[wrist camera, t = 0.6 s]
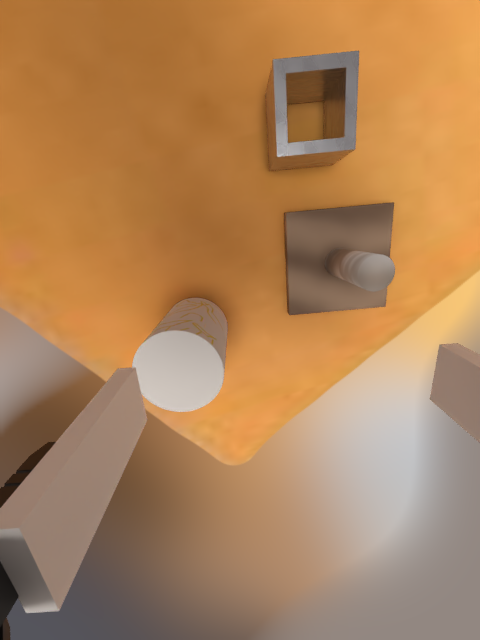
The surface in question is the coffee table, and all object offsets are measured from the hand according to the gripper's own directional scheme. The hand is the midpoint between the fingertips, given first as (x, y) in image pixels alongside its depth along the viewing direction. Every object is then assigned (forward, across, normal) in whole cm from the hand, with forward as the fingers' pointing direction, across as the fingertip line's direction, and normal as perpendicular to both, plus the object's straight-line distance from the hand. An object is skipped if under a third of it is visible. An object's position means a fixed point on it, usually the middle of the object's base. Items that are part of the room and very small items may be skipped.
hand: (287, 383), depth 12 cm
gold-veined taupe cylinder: (+23, -8, -5) cm, 25 cm away
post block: (+23, +10, +2) cm, 25 cm away
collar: (+23, +6, +16) cm, 29 cm away
